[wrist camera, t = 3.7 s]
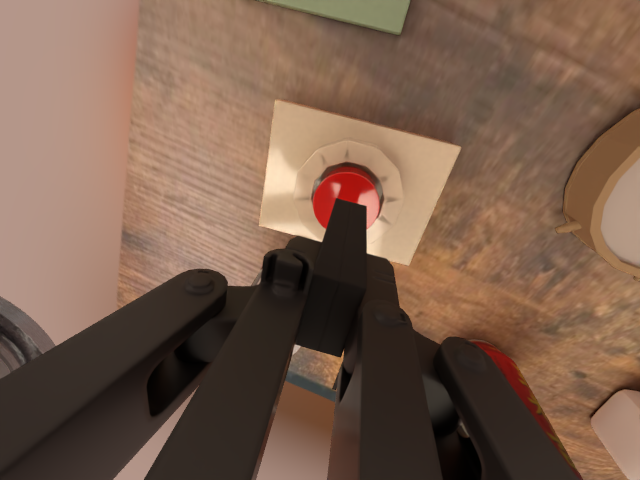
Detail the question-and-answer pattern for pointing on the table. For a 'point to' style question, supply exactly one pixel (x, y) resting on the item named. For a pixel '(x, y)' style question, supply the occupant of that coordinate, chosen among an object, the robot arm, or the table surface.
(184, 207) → the table surface
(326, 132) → the control block
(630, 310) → the table surface
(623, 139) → the alarm clock
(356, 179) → the button
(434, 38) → the table surface
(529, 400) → the soda can
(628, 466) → the power adapter
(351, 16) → the mat
